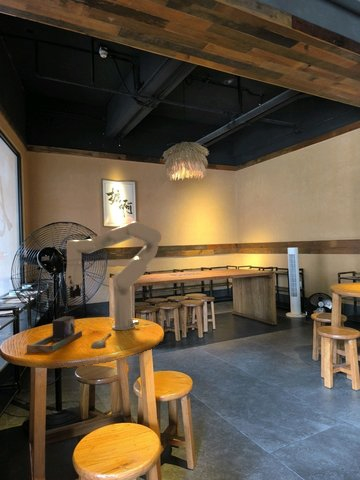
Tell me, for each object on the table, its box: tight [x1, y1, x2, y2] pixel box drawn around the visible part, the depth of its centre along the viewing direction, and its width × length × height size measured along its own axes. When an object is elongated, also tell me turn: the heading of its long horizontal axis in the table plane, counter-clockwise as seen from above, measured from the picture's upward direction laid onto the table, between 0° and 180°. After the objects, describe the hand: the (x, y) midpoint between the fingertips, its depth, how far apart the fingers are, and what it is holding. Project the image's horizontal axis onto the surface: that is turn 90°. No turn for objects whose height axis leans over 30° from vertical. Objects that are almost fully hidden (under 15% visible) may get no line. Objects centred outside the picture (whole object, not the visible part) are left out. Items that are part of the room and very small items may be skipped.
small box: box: [52, 315, 76, 343], centre depth 160 cm, size 11×6×10 cm, turn 168°
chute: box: [26, 330, 83, 354], centre depth 153 cm, size 12×27×3 cm, turn 169°
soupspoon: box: [90, 333, 112, 350], centre depth 153 cm, size 22×3×7 cm
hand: (75, 296), depth 172 cm, fingers open, 4 cm apart
